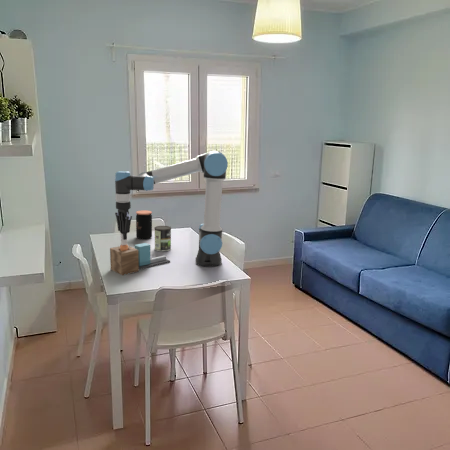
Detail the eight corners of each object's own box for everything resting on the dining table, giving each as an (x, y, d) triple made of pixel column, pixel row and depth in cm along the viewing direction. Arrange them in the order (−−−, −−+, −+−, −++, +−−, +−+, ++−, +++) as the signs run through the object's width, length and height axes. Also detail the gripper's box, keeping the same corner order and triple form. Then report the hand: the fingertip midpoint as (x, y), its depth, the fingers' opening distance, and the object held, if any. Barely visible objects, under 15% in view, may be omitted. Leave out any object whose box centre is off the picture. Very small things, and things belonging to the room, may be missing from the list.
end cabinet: (139, 271, 240) (139, 249, 237) (122, 275, 233) (121, 253, 230) (127, 265, 249) (127, 244, 246) (110, 269, 242) (110, 248, 239)
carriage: (150, 263, 249) (150, 244, 246) (139, 266, 244) (139, 247, 241) (145, 261, 252) (145, 242, 250) (134, 263, 248) (134, 244, 245)
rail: (170, 262, 256) (170, 257, 256) (137, 270, 242) (137, 264, 241) (162, 258, 262) (162, 254, 261) (129, 266, 247) (129, 261, 246)
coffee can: (173, 247, 285) (173, 226, 282) (167, 252, 275) (168, 230, 272) (157, 246, 287) (157, 225, 284) (152, 250, 277) (152, 228, 274)
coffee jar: (135, 235, 310) (135, 210, 305) (150, 235, 313) (150, 210, 309) (137, 240, 300) (136, 213, 296) (153, 239, 303) (153, 213, 299)
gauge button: (129, 256, 239) (129, 245, 237) (123, 257, 236) (122, 246, 235) (125, 254, 242) (125, 243, 240) (119, 255, 239) (118, 245, 237)
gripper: (136, 202, 230) (136, 246, 235) (122, 198, 239) (123, 241, 244) (123, 204, 225) (124, 248, 230) (110, 200, 234) (111, 243, 239)
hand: (123, 244), depth 237 cm, fingers closed
